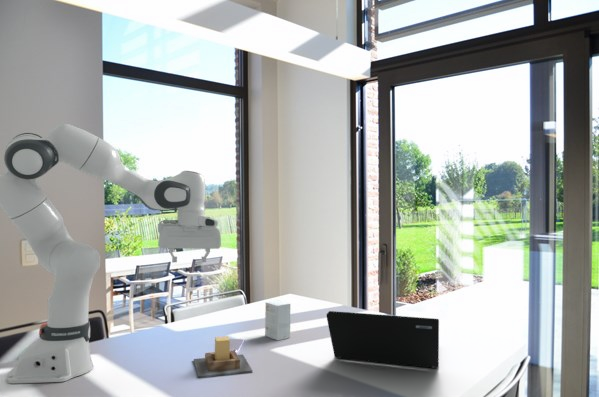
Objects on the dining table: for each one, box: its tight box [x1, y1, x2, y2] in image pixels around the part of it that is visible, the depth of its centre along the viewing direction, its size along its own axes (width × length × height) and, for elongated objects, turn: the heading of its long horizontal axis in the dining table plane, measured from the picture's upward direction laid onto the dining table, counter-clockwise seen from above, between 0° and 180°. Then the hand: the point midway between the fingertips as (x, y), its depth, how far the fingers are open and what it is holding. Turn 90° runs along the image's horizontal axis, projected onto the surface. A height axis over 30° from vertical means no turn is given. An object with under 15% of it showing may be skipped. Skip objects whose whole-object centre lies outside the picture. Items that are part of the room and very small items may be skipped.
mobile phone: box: [229, 338, 245, 354], centre depth 163 cm, size 8×1×15 cm
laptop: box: [326, 310, 440, 369], centre depth 152 cm, size 33×38×19 cm
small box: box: [264, 300, 291, 341], centre depth 175 cm, size 8×6×13 cm
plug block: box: [214, 336, 230, 361], centre depth 143 cm, size 4×4×8 cm
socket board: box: [193, 350, 253, 379], centre depth 143 cm, size 16×15×3 cm
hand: (189, 262), depth 151 cm, fingers open, 8 cm apart
